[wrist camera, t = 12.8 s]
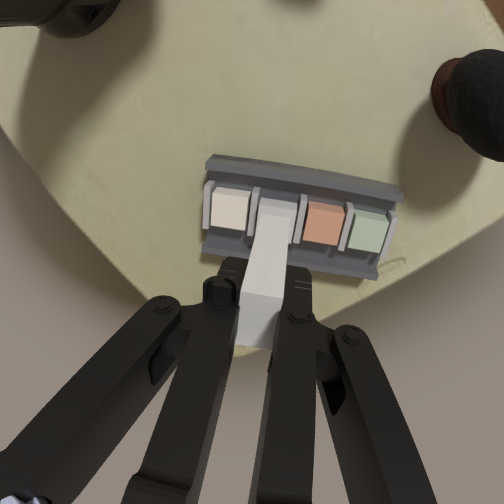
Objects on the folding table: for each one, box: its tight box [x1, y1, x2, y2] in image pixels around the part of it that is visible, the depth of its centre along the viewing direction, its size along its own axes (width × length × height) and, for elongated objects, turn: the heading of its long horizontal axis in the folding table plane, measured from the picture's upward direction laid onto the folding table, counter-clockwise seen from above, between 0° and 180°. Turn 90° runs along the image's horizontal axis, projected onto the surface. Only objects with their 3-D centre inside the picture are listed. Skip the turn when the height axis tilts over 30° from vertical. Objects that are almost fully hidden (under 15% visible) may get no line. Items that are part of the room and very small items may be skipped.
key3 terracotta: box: [303, 201, 345, 246], centre depth 41 cm, size 4×4×2 cm
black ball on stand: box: [432, 49, 504, 162], centre depth 26 cm, size 13×13×15 cm
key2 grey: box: [255, 197, 297, 244], centre depth 40 cm, size 4×4×2 cm
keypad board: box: [202, 154, 405, 281], centre depth 43 cm, size 25×13×4 cm, turn 84°
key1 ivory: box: [211, 187, 251, 231], centre depth 42 cm, size 4×4×2 cm
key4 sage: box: [346, 209, 389, 253], centre depth 41 cm, size 4×4×2 cm
